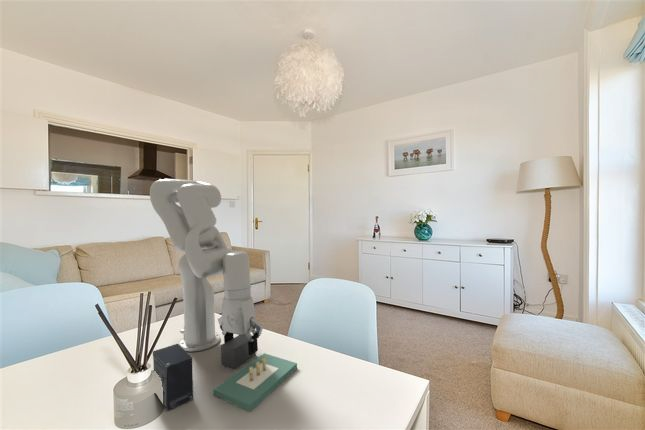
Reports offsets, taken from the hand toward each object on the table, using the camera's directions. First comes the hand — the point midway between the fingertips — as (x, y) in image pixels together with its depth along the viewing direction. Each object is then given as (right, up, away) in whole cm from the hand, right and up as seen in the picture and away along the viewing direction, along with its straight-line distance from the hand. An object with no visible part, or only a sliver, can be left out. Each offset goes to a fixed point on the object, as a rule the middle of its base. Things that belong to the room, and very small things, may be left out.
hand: (241, 349), depth 85 cm
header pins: (+7, -2, -9) cm, 12 cm away
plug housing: (-1, -4, +1) cm, 4 cm away
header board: (+7, -4, -9) cm, 13 cm away
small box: (-13, -5, -14) cm, 20 cm away
